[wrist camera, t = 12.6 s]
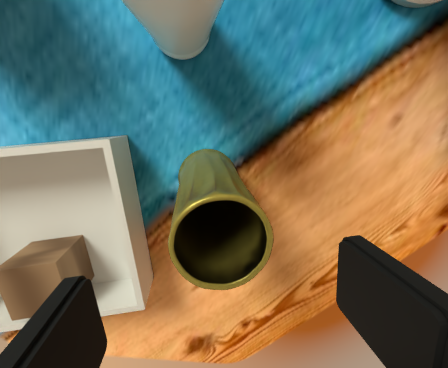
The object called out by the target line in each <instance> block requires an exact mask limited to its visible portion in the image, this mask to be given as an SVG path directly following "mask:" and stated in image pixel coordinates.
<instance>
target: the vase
mask: <svg viewBox="0 0 448 368" xmlns="http://www.w3.org/2000/svg"><path fill="white" fill-rule="evenodd" d="M178 180H179V188H178V192H177V198H176V203H175V208H174V213H173V217H172V223H171V229H170V235H169V239H168V248H169V254H170V257H171V260H172V262H173V264H174V265H175V267H176V268H177V270H178V271H179V272H180V274H181V275H182V276H183V277H184V278H185V279H186V280H188V281H189V282H191V283H192V284H194V285H196V286H198V287H201V288H204V289H212V290H228V289H233V288H236V287H239V286H241V285H243V284H245V283H247V282H249V281H250V280H251V279H253V278H254V277H255V276H256V275H257V274H258V273H259V272H260V271H261V270H262V269H263V267H264V266H265V264H266V263H267V261H268V259H269V257H270V254H271V250H272V246H273V229H272V226H271V224H270V222H269V220H268V218H267V216H266V214H265V213H264V211H263V210H262V208H261V207H260V205H259V204H258V202H257V201H256V200H255V198H254V197H253V195H252V194H251V193H250V192H249V190H248V189H247V188H246V186H245V184H244V183H243V181H242V180H241V179H240V177H239V175H238V173H237V171H236V169H235V167H234V165H233V163H232V162H231V160H230V159H229V158H228V157H227V156H226V155H224V154H223V153H221V152H220V151H217V150H213V149H202V150H198V151H196V152H194V153H192V154H190V155H189V156H188V157H187V158H186V159H185V160H184V161H183V163H182V165H181V167H180V170H179V174H178Z"/></svg>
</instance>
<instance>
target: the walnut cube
mask: <svg viewBox="0 0 448 368" xmlns="http://www.w3.org/2000/svg"><path fill="white" fill-rule="evenodd" d="M82 275H83V276H85V277H86V279H90V280H92V279H93V277H94V276H95V275H94V272H93V268H92V265H91V261H90V258H89V254H88V251H87V247H86V244H85V240H84V237H83V235H77V236H70V237H62V238H55V239H48V240H41V241H33V242H31V243H29V244H28V245H27V246H25V247H24V248H23V249H21V250H20V251H19V252H17V253H16V254H15V255H13V256H12V257H11V258H9V259H8V260H6V261H5V262H4V263H2V264H1V265H0V294H1V296H2V299H3V301H4V303H5V306H6V308H7V310H8V313H9V315H10V317H11V320H12V321H14V320H20V319H26V318H31V317H32V316H33V315H34V313H35V312H36V311H37V310H38V309H39V307H40V306H41V305H42V304H43V303H44V301H45V300H46V299H47V298H48V297H49V295H50V294H51V293H52V292H53V291H54V289H55V288H56V287H57V286H58V285H59V283H60V282H61V281H62V280H63V279H64V278H68V277H75V276H82Z"/></svg>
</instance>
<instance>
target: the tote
mask: <svg viewBox="0 0 448 368" xmlns="http://www.w3.org/2000/svg"><path fill="white" fill-rule="evenodd" d="M77 235H83V237H84V240H85V244H86V247H87V251H88V254H89V258H90V261H91V265H92V268H93V272H94V275H95V276H94V277H93V279H92V280H91V282H92V286H93V289H94V293H95V297H96V300H97V304H98V308H99V312H100V315H101V316H108V315H114V314H121V313H127V312H133V311H140V310H145V308H146V304H147V300H148V297H149V293H150V289H151V285H152V281H153V278H154V275H153V270H152V265H151V259H150V254H149V249H148V243H147V238H146V233H145V228H144V222H143V217H142V212H141V207H140V201H139V196H138V191H137V186H136V180H135V175H134V170H133V164H132V159H131V154H130V149H129V143H128V138H127V135H125V136H114V137H103V138H92V139H80V140H69V141H58V142H47V143H35V144H24V145H13V146H2V147H0V265H1V264H2V263H4V262H5V261H6V260H8V259H9V258H11V257H12V256H13V255H15V254H16V253H17V252H19V251H20V250H21V249H23V248H24V247H25V246H27V245H28V244H29V243H31V242H33V241H41V240H48V239H55V238H62V237H70V236H77ZM29 319H30V318H26V319H20V320H14V321H12V320H11V317H10V315H9V313H8V310H7V308H6V306H5V303H4V301H3V299H2V296H1V294H0V332H6V331H12V330H18V329H22V328H23V327H24V325H25V324H26V323H27V322H28V321H29Z"/></svg>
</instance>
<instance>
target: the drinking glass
mask: <svg viewBox="0 0 448 368" xmlns="http://www.w3.org/2000/svg"><path fill="white" fill-rule="evenodd" d="M121 1H122V2H123V3H124V5H125V6H126V7H127V8H128V9H129V11H130V12H131V13H132V14H133V15H134V17H135V18H136V19H137V20H138V21H139V22H140V24H141V25H142V26H143V27H144V28H145V30H146V31H147V32H148V33H149V34H150V36H151V37H152V39H153V40H154V42H155V44H156V45H157V46H158V48H159V49H160V50H161V51H162V52H163V53H165V54H166V55H168V56H170V57H172V58H175V59H180V60H185V59H190V58H193V57H195V56H197V55H198V54H199V53H200V52H202V50H203V49H204V48H205V46H206V45H207V43H208V40H209V37H210V33H211V30H212V27H213V25H214V23H215V20H216V18H217V16H218V13H219V11H220V9H221V6H222V4H223V2H224V0H121Z"/></svg>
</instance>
